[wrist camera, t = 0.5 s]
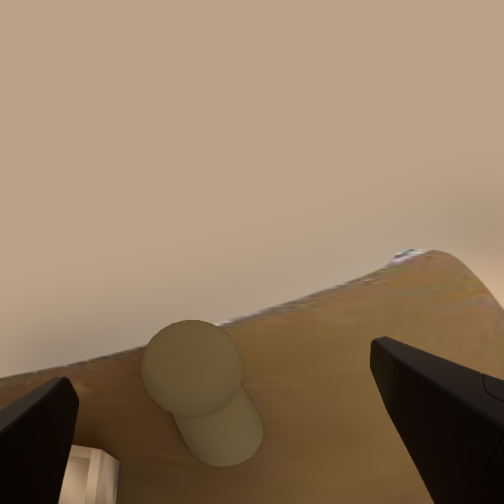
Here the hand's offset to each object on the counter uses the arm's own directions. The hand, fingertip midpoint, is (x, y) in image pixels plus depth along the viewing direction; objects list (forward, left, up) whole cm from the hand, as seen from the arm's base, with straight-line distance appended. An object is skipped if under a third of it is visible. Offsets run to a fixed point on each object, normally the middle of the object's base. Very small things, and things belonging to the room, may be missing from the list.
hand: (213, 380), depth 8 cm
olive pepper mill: (+4, +2, -16) cm, 16 cm away
